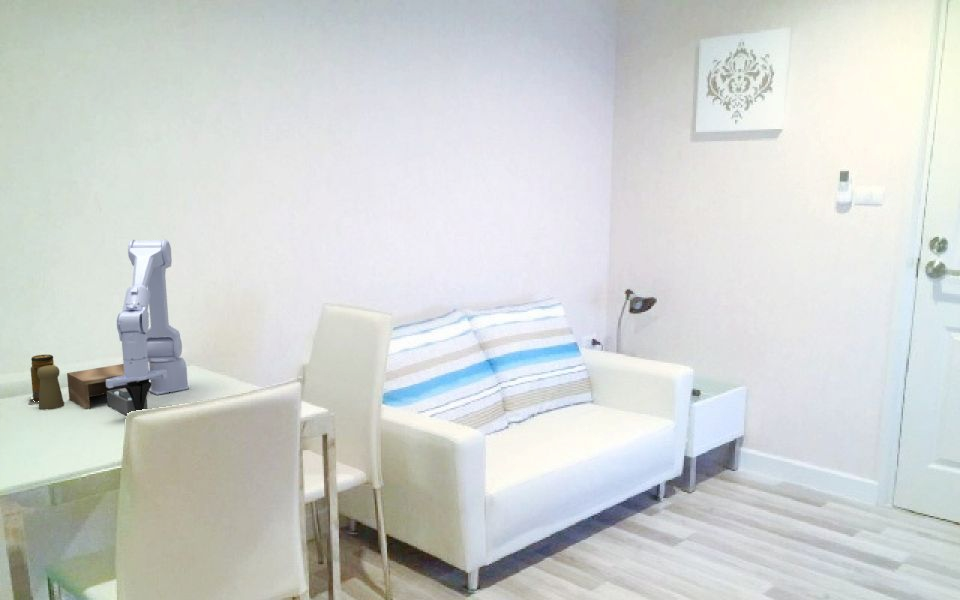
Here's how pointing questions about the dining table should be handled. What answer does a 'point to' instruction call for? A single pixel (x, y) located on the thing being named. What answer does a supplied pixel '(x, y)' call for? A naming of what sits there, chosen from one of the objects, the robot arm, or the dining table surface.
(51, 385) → the cork
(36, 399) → the condiment
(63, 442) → the dining table surface
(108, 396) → the tray
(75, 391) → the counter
